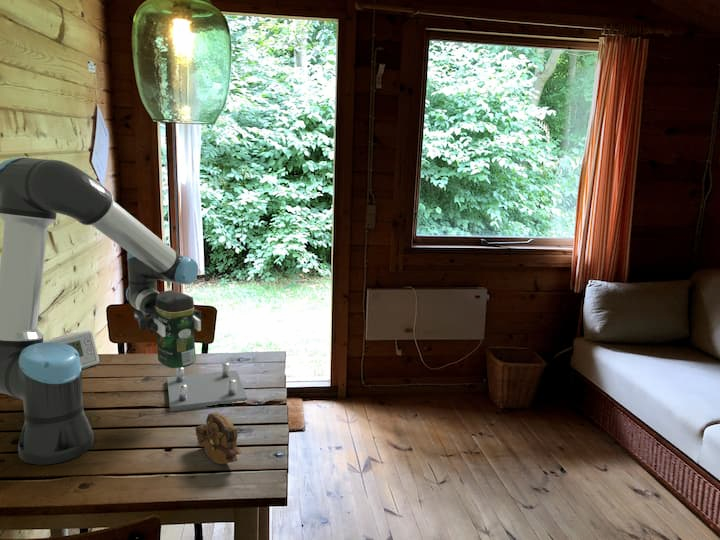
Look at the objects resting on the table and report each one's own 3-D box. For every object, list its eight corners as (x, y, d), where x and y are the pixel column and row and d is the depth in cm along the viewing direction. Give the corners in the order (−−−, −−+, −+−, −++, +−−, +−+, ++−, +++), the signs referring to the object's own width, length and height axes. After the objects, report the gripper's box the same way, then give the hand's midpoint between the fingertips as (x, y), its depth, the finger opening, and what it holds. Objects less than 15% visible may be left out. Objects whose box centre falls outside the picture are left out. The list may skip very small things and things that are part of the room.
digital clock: (45, 380, 165) (42, 345, 163) (37, 371, 172) (34, 337, 170) (103, 368, 176) (101, 335, 174) (93, 359, 183) (92, 327, 180)
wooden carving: (188, 449, 132) (187, 408, 129) (205, 442, 135) (204, 402, 133) (230, 478, 121) (230, 434, 119) (248, 469, 124) (248, 427, 122)
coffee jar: (152, 361, 146) (149, 291, 142) (181, 353, 152) (178, 286, 148) (172, 372, 140) (169, 299, 136) (200, 364, 146) (198, 293, 141)
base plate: (247, 402, 156) (247, 383, 155) (170, 411, 149) (169, 392, 148) (236, 375, 174) (236, 358, 173) (167, 381, 167) (166, 364, 166)
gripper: (191, 313, 165) (222, 335, 147) (114, 324, 152) (138, 350, 135) (190, 288, 163) (222, 307, 145) (112, 297, 151) (136, 320, 133)
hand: (181, 328), depth 140 cm, fingers closed on coffee jar, 8 cm apart
